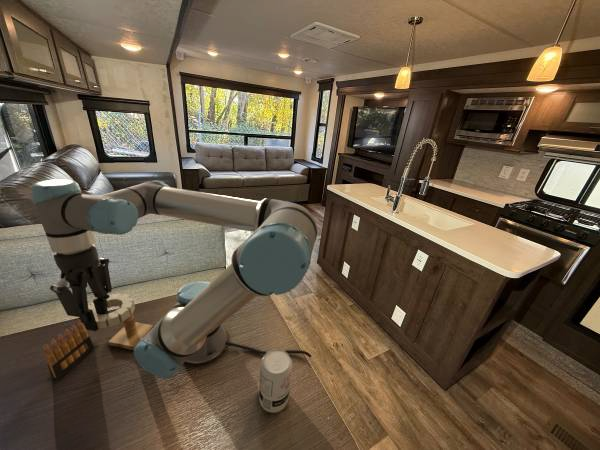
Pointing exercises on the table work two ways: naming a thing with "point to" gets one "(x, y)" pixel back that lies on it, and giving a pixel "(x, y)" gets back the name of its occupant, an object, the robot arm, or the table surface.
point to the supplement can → (275, 380)
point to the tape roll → (116, 316)
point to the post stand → (130, 334)
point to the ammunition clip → (67, 350)
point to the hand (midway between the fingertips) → (98, 323)
